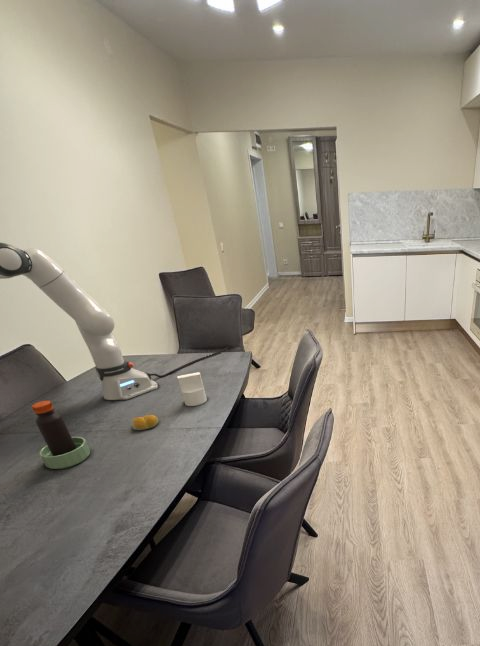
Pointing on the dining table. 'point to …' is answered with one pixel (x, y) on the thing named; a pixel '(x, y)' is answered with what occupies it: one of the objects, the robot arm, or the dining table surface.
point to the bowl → (66, 455)
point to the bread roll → (145, 422)
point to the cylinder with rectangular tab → (192, 389)
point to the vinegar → (53, 429)
